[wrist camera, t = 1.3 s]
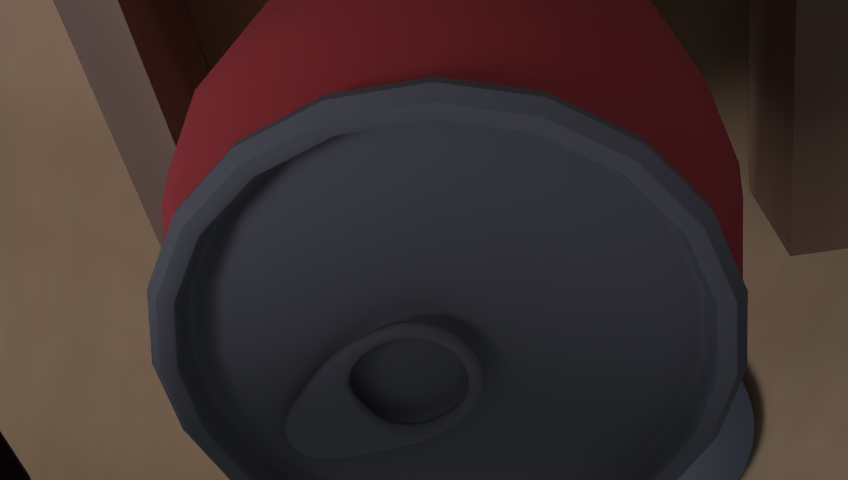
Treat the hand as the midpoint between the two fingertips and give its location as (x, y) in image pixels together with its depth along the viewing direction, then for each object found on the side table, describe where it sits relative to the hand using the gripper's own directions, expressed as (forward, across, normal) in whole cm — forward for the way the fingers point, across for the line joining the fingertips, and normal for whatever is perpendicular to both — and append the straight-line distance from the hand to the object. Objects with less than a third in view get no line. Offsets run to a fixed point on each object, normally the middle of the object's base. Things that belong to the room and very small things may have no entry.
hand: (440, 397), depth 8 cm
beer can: (+12, 0, 0) cm, 12 cm away
